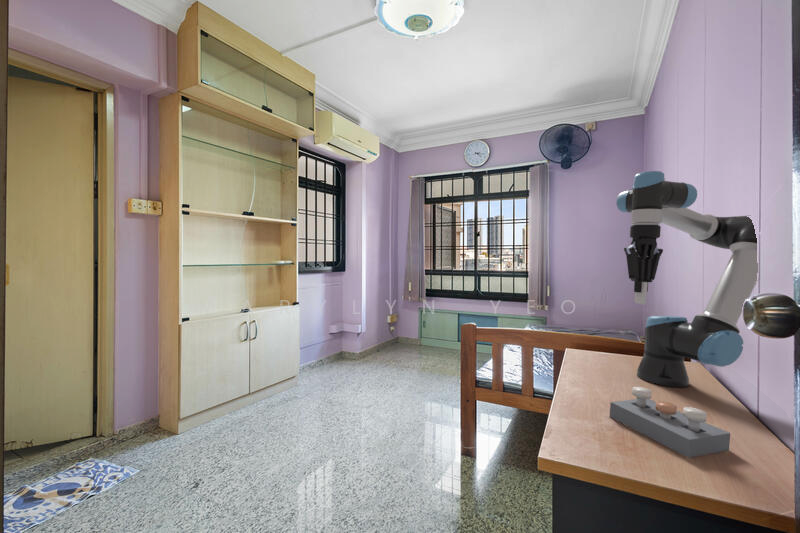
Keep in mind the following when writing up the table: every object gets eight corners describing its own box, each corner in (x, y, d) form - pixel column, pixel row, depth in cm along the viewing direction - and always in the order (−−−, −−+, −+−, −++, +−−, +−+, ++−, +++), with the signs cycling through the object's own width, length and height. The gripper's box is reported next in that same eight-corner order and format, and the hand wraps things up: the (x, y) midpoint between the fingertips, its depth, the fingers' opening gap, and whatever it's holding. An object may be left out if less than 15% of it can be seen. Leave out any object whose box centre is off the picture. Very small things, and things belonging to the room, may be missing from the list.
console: (645, 412, 102) (646, 398, 101) (728, 450, 82) (730, 433, 82) (609, 416, 98) (610, 402, 97) (688, 457, 79) (689, 439, 78)
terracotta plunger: (662, 420, 93) (664, 400, 92) (679, 428, 89) (681, 407, 88) (650, 422, 91) (651, 401, 91) (667, 430, 87) (668, 408, 87)
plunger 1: (639, 405, 99) (640, 386, 99) (654, 411, 95) (655, 392, 95) (627, 406, 97) (628, 387, 97) (642, 413, 93) (643, 393, 93)
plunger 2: (690, 427, 86) (691, 406, 86) (709, 436, 82) (711, 413, 82) (677, 429, 85) (678, 407, 85) (696, 438, 81) (698, 415, 81)
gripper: (649, 226, 114) (644, 301, 115) (617, 224, 110) (612, 301, 111) (674, 225, 107) (668, 305, 108) (640, 222, 103) (635, 305, 104)
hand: (640, 303), depth 109 cm, fingers closed
